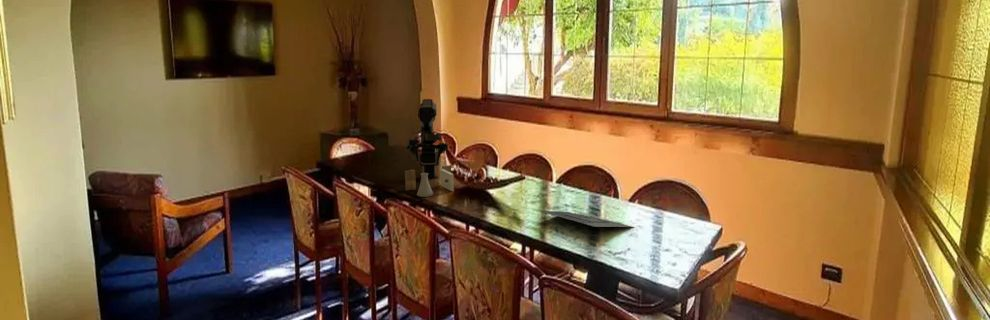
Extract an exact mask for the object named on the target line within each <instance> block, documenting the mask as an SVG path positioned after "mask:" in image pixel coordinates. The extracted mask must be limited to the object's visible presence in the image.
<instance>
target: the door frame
mask: <svg viewBox="0 0 990 320" xmlns="http://www.w3.org/2000/svg"><path fill="white" fill-rule="evenodd" d="M451 168H452V169H453V165H451V164H449V165H441V169H444V170H446V171H448V172H450V173H452V174H453V171H452V172H451ZM404 180H405V183H404V184H405V191H414V190H417V187H416V186H417V182H416V181H417V180H416V170H415V169H409V170H404Z"/></svg>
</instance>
